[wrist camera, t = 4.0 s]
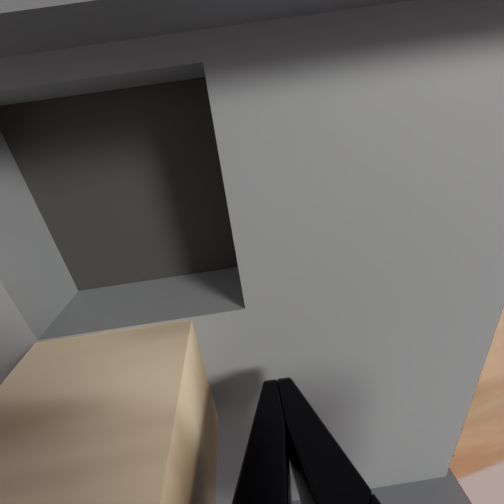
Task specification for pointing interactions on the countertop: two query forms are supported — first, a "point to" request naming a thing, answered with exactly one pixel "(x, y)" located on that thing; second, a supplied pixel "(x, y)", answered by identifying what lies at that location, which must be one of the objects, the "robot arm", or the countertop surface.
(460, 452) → the countertop surface
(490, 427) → the countertop surface
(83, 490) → the birch block
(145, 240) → the box
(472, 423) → the countertop surface
